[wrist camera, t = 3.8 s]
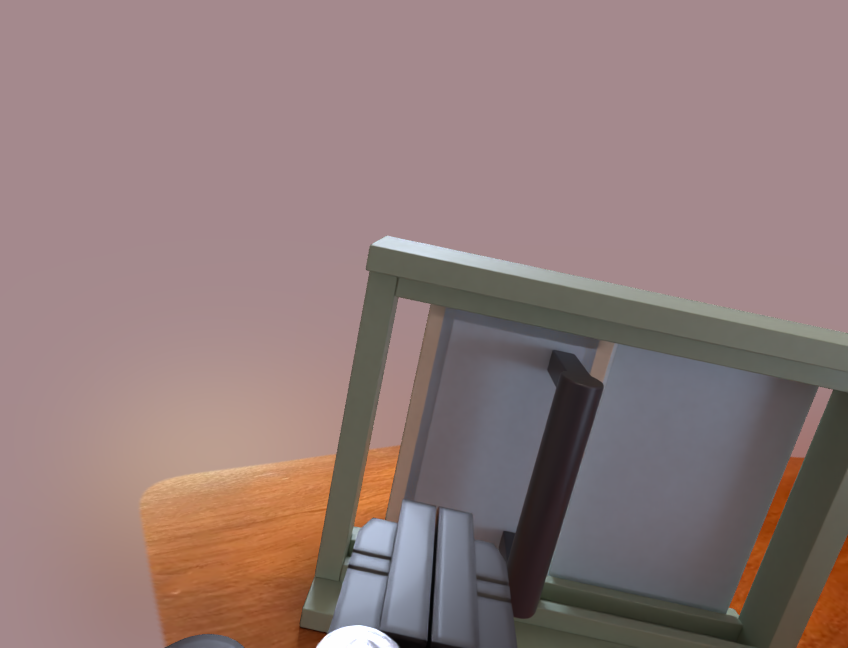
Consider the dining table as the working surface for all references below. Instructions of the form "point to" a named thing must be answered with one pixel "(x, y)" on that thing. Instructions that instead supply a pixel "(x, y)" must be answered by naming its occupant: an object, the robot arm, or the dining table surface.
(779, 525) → the window frame
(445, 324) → the sash
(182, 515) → the dining table surface
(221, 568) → the dining table surface
